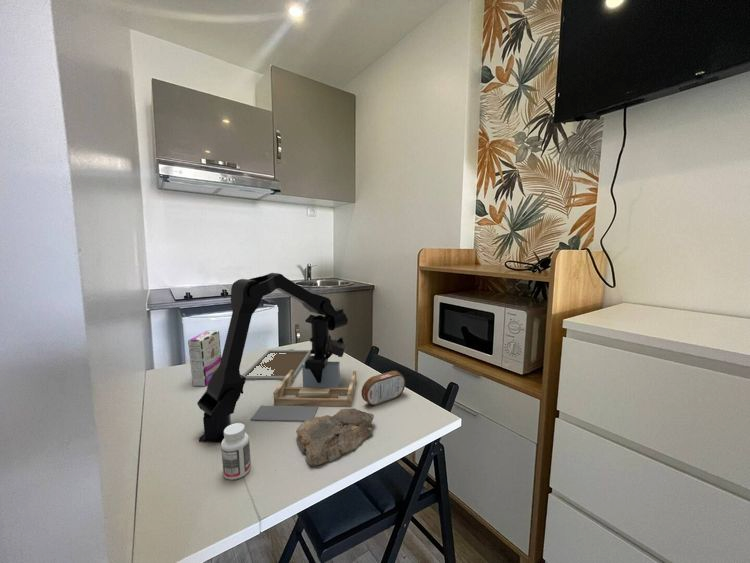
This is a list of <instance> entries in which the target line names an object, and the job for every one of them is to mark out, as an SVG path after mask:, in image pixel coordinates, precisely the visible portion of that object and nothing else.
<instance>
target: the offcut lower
mask: <svg viewBox="0 0 750 563" xmlns="http://www.w3.org/2000/svg"><path fill="white" fill-rule="evenodd" d="M294 398H299V396H298V393H297V394H296V395H295V396H294ZM329 398H339V395H338V394H330V395H329Z"/></svg>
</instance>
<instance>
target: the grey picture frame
mask: <svg viewBox="0 0 750 563" xmlns="http://www.w3.org/2000/svg"><path fill="white" fill-rule="evenodd" d="M310 351H311V349H310V350H309V349H301V350H300V349H293V348H290V349H268V350H267V351H266V352H264V354H263V355H262V356H261V357H260V358H259V359H258V360H257V361H256V362H254V363H253V365H251V366H250V367H249V369H247V370H246V371H245V372H244V373H243V374H241V375H242V376H244V377H246V381H255V380H279V381H278V382H282V381H283V379H284V378H285V377H286V375H287V374H288V373H289V372H290V370H294V380H295V379H296V378H297V376H298V375H299V373H300V372H301V371H302V364H303V363H304V361H306V360H307V358H308V357H309V356H311V354H310ZM270 353H275V354H276V353H277V354H276V355H275V356H274V358H273V357H272V356H271V357H272V358H273V360H271V361H270V360H269V362H267V363H265V362H264V364H263V363H262V366H263V367H265V366H266V367H268V368H270V367H271V370H274V369H275V370H274V372H273V374H274V375H273V374H271V376H267V375H266V376H247V375H249V373H251V372H252V371H253V370H254V368H256V366H259V365H260V366H261V364H260V363H261V362H262V360H263V359H264V358H265V357H267V355H268V354H270ZM279 353H286V354H279ZM273 355H274V354H273ZM264 365H265V366H264ZM262 366H261V367H262ZM263 367H262V368H263ZM266 367H265V368H266ZM267 370H269V369H267ZM257 375H258V374H257ZM260 375H262V374H260Z"/></svg>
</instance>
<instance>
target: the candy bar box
mask: <svg viewBox="0 0 750 563" xmlns="http://www.w3.org/2000/svg"><path fill="white" fill-rule="evenodd" d="M220 337H221V336H220V330H205V331H203V332H202V333H200V334H198V335H196V336H194V337H192V338H190V339H188V341H187V342H188V343H187V344H188V353H189V354H188V355H189V360H190V361H189V362H190V370H191V371H190V372H191V380H192V387H208V384H209V382H210V379H211V377H212V375H213V374H214V373H215V371H216V370H217V369H218V368H219V366H220V362H221V358H222V350H221V338H220Z"/></svg>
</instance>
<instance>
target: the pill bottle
mask: <svg viewBox="0 0 750 563" xmlns="http://www.w3.org/2000/svg"><path fill="white" fill-rule="evenodd" d="M220 443H221V445H220V448H221V451H220V452H221V460H222V463H221V464H222V471H223V472H222V474H223V477H224V478H225V479H226V480H231V481H232V480H233V479H234V480H238V479H240V478H243V477H244V476H245V475H247V474H249V473H248V472H249V471H250V469H251V466H252V462H251V460H252V459H251V449H250V436H249V435H248V433H246V428H245V424H244V423H241V422H236V423H231V425H229V426H227V427H226V428H225V429H224V439H223V441H222V442H220Z"/></svg>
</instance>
